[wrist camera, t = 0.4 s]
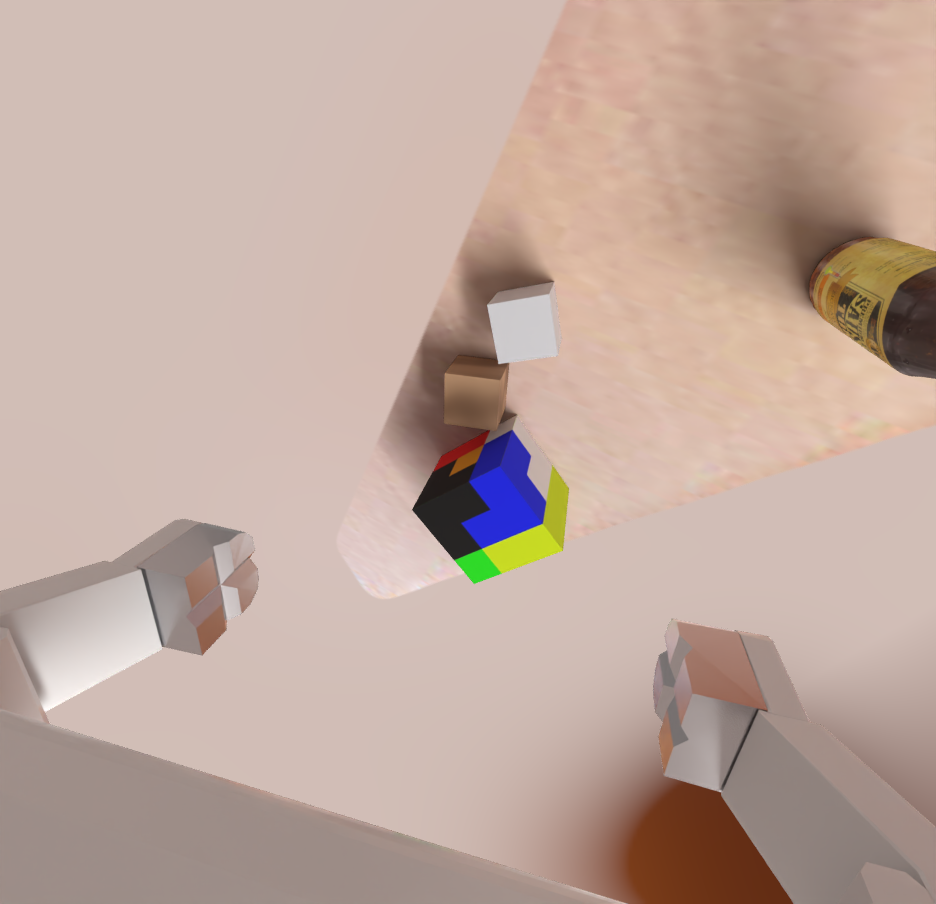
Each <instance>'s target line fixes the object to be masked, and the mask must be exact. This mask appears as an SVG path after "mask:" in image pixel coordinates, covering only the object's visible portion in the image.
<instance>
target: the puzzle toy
mask: <svg viewBox="0 0 936 904" xmlns="http://www.w3.org/2000/svg"><path fill="white" fill-rule="evenodd" d="M568 493H569V488H568V487H567V485H566V484H565V482H564V481H563V480H562V478H561V477H560V475H559V474H558V472H557V471H556V470H555V468H554V467H553V465H552V464H551V462H550V461H549V460H548V458H547V457H546V455H545V454H544V452H543V451H542V449H541V448H540V447H539V445H538V444H537V442H536V441H535V439H534V438H533V437H532V435H531V434H530V432H529V431H528V429H527V428H526V427H525V425H524V424H523V422H522V421H521V419H520V418H519V417H518V415H516V416H514V417H512V418H510V419H509V420H507V421H505V422H503V423H501V424H499V426H498V428H497V431H492V430H488V431H487V432H485V433H483V434H481V435H479V436H478V437H476V438H474V439H472V440H470V441H468V442H467V443H465V444H463V445H461V446H459V447H457V448H456V449H454V450H452V451H450V452H448V453H447V454H445V455H443V456H441V458H440V460H439V462H438V464H437V465H436V467H435V469H434V471H433V473H432V474H431V476H430V478H429V480H428V482H427V484H426V485H425V487H424V489H423V491H422V493H421V494H420V496H419V498H418V500H417V502H416V504H415V505H414V507H413V509H412V510H413V512H414V513H415V514H416V515H417V516H418V518H419V519H420V520H421V521H422V522H423V523H424V525H425V526H426V527H427V528H428V529H429V531H430V532H431V533H432V534H433V535H434V537H435V538H436V539H437V540H438V541H439V543H440V544H441V545H442V546H443V547H444V549H445V550H446V551H447V552H448V553H449V554H450V556H451V557H452V558H453V559H454V560H455V562H456V563H457V564H458V565H459V566H460V568H461V569H462V570H463V571H464V572H465V574H466V575H467V576H468V577H469V578H470V580H471V581H472V582H473V583H474V584H475V583H478V582H480V581H483V580H486V579H489V578H491V577H494V576H496V575H499V574H502V573H505V572H507V571H510V570H513V569H515V568H518V567H520V566H523V565H526V564H529V563H531V562H534V561H537V560H539V559H542V558H545V557H547V556H550V555H553V554H555V553H558V552H561V551H563V544H564V534H565V524H566V513H567V503H568Z"/></svg>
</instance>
